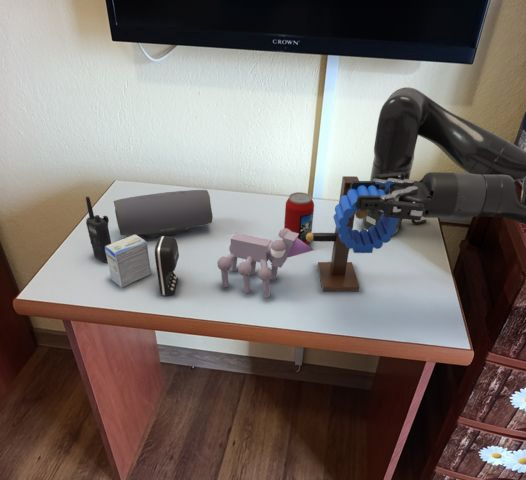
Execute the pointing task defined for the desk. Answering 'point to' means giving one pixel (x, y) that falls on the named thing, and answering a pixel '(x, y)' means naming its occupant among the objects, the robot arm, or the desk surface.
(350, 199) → the ridged ring
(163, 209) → the bluetooth speaker
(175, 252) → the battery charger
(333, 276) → the hook stand
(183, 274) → the desk surface
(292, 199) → the beverage can
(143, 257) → the medicine box
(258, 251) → the toy sheep
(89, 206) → the two-way radio
